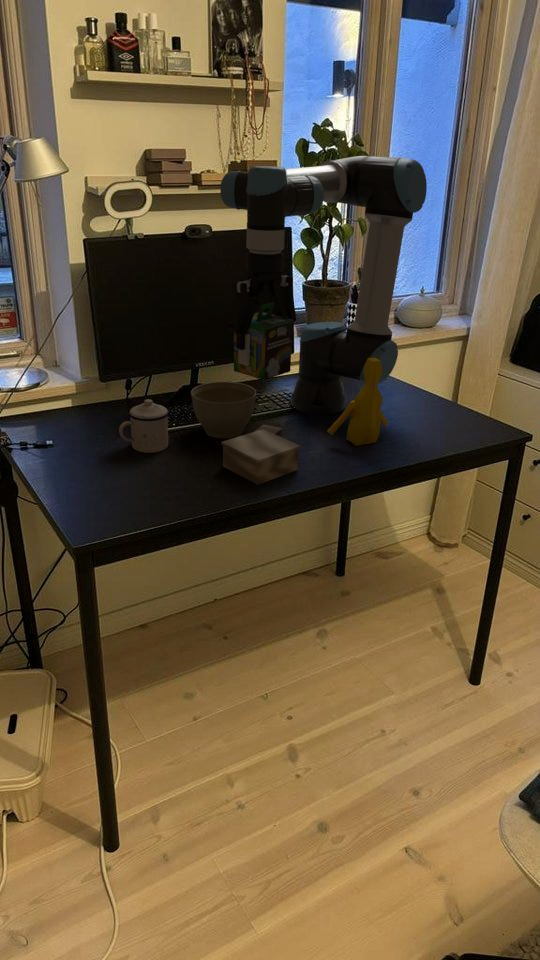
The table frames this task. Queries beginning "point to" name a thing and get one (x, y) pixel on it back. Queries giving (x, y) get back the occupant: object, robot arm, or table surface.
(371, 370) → the figure statuette
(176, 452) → the table surface
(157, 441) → the teacup with lid
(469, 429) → the table surface
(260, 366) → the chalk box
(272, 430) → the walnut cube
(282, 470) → the plinth
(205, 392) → the planter bowl
